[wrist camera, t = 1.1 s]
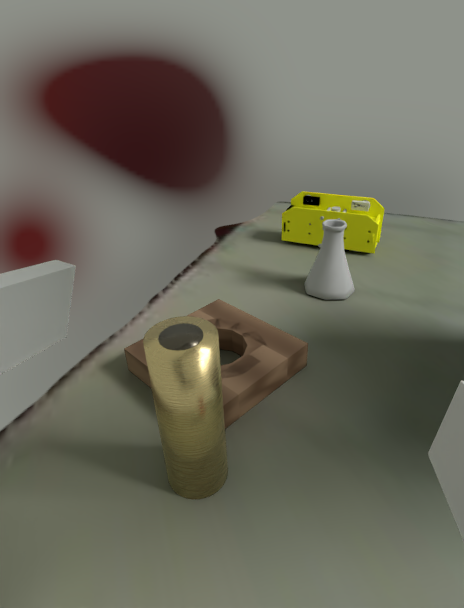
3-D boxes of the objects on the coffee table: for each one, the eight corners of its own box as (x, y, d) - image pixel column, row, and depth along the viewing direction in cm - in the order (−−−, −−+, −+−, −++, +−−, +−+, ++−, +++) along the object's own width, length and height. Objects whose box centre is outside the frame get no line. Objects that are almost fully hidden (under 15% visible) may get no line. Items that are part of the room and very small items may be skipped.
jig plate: (219, 318, 55) (218, 299, 54) (306, 365, 47) (308, 343, 45) (128, 370, 47) (124, 348, 46) (213, 438, 38) (211, 414, 37)
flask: (357, 280, 63) (365, 215, 58) (351, 305, 57) (360, 235, 52) (308, 274, 65) (312, 212, 60) (298, 297, 59) (301, 230, 54)
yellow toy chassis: (379, 245, 73) (386, 198, 69) (373, 258, 69) (380, 209, 65) (291, 233, 80) (292, 189, 75) (280, 245, 75) (281, 199, 71)
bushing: (200, 438, 38) (186, 307, 31) (240, 471, 35) (233, 334, 28) (156, 472, 36) (128, 337, 28) (194, 511, 32) (174, 370, 25)
